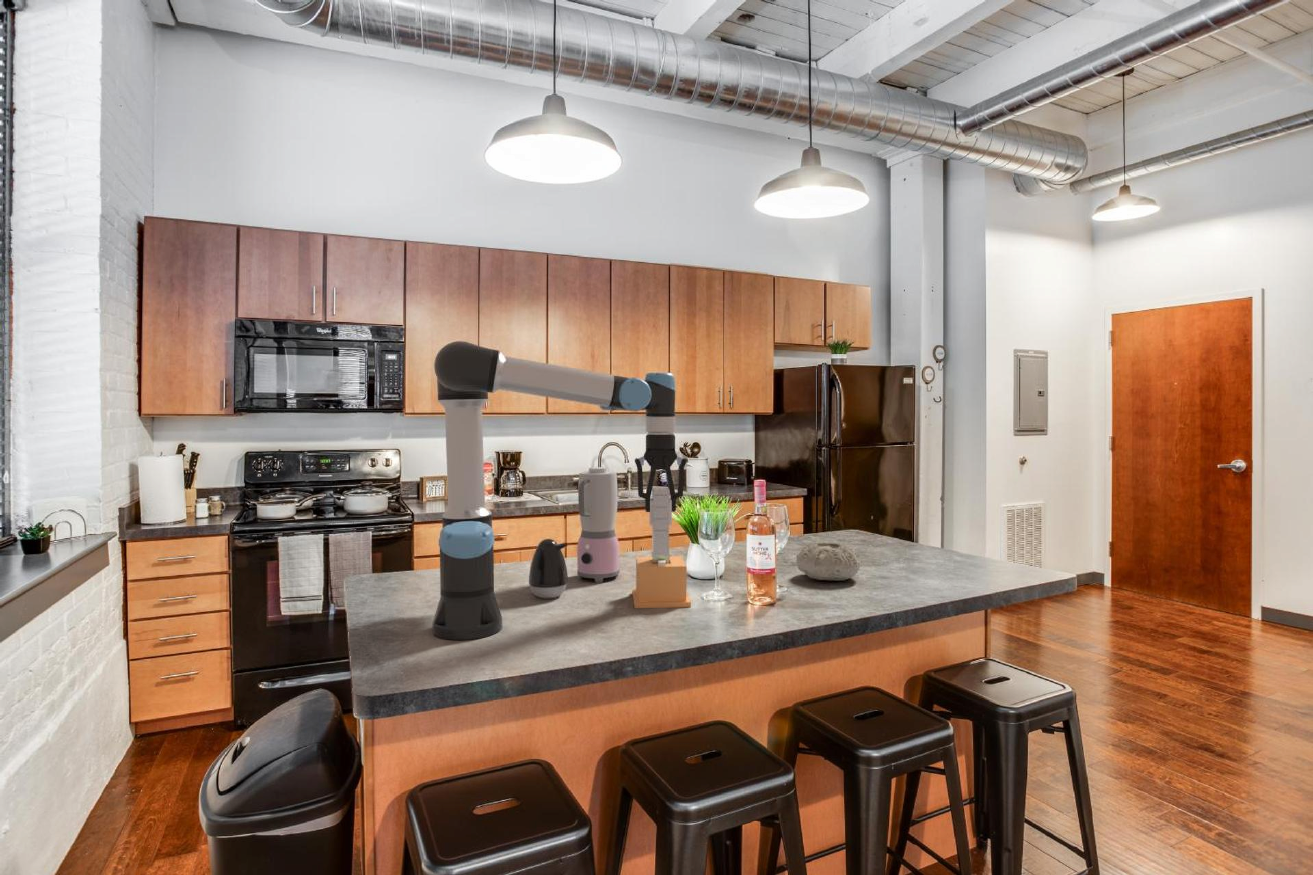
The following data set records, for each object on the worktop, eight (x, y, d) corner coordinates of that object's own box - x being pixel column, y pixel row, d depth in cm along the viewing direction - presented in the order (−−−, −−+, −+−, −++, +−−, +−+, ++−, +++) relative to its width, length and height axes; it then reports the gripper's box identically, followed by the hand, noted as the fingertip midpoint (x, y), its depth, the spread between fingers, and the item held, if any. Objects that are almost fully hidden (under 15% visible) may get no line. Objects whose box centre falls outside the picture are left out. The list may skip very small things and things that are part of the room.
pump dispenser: (561, 602, 183) (560, 543, 183) (522, 600, 186) (522, 541, 185) (573, 592, 193) (573, 536, 193) (537, 590, 195) (536, 534, 195)
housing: (690, 606, 179) (690, 563, 179) (634, 608, 178) (634, 564, 178) (684, 592, 193) (684, 551, 193) (632, 593, 192) (632, 552, 192)
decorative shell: (863, 587, 198) (863, 551, 198) (797, 585, 201) (797, 549, 200) (855, 572, 216) (856, 539, 215) (795, 570, 218) (795, 537, 218)
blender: (592, 570, 218) (591, 465, 217) (627, 575, 212) (627, 467, 211) (562, 582, 204) (561, 469, 203) (598, 587, 198) (598, 471, 197)
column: (670, 573, 182) (670, 489, 181) (652, 574, 182) (652, 489, 181) (668, 568, 188) (668, 486, 187) (651, 568, 188) (651, 486, 187)
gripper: (691, 432, 188) (691, 521, 189) (626, 433, 187) (626, 522, 188) (695, 433, 180) (695, 526, 182) (627, 434, 179) (627, 527, 180)
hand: (660, 524), depth 185 cm, fingers closed on column, 4 cm apart
